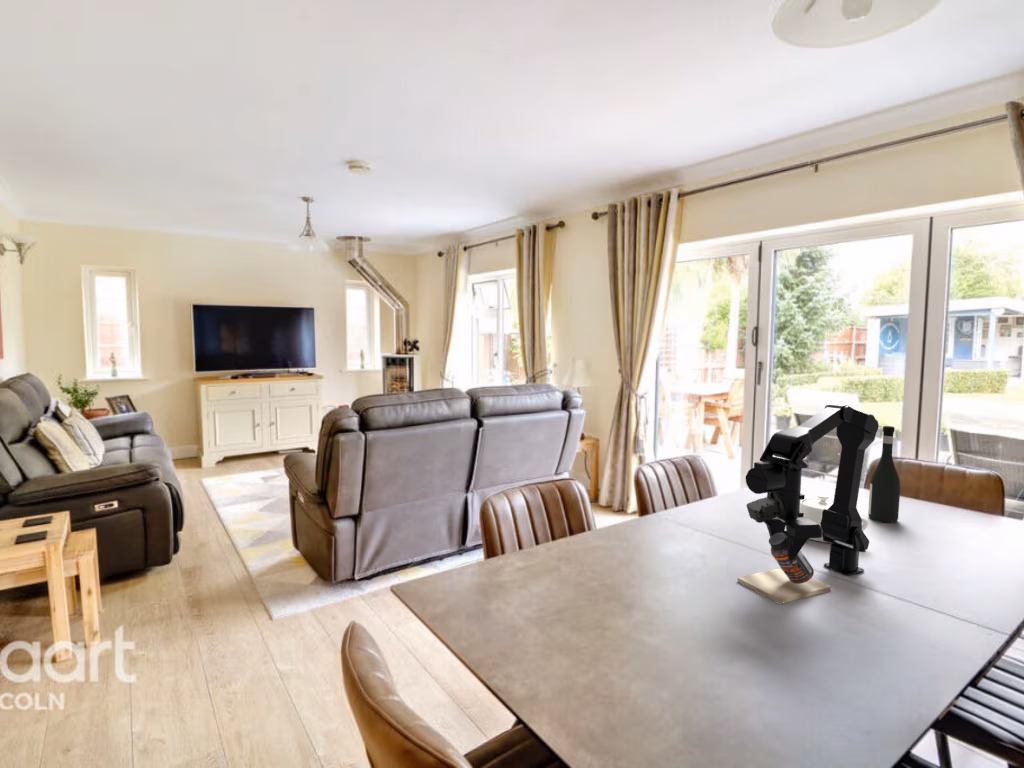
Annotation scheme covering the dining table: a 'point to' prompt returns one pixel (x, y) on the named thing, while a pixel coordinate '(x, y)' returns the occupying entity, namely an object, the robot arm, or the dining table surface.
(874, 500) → the wine bottle
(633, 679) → the dining table surface
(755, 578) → the board
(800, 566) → the supplement bottle
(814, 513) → the teapot
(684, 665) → the dining table surface
